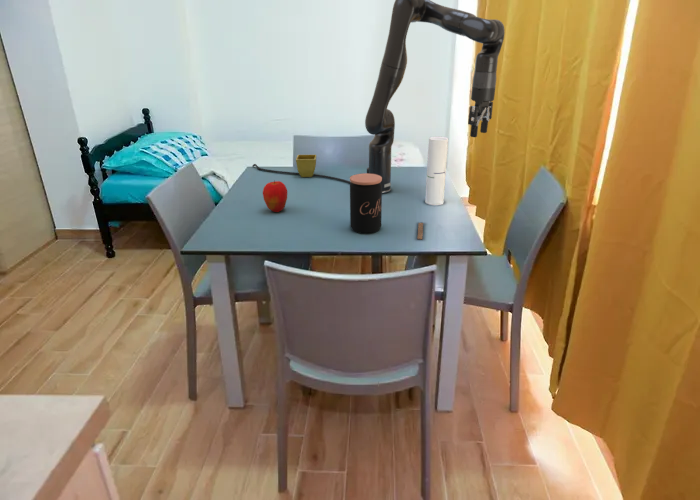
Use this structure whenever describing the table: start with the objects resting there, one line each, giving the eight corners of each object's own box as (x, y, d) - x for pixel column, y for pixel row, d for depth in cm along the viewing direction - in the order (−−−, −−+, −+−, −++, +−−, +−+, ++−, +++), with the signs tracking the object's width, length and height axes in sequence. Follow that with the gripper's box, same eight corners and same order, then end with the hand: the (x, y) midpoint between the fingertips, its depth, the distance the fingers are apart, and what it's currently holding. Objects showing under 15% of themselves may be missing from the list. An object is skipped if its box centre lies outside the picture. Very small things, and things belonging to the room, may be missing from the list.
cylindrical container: (443, 205, 188) (448, 140, 178) (424, 204, 190) (428, 140, 179) (443, 199, 195) (448, 136, 184) (425, 198, 196) (429, 136, 185)
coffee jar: (359, 236, 161) (359, 184, 154) (344, 226, 170) (344, 176, 163) (387, 230, 166) (388, 179, 158) (371, 220, 174) (371, 171, 167)
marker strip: (417, 239, 159) (417, 238, 159) (418, 223, 171) (418, 222, 171) (422, 239, 159) (422, 238, 159) (423, 223, 171) (423, 222, 171)
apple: (279, 204, 191) (276, 175, 186) (293, 210, 185) (291, 179, 180) (259, 210, 185) (256, 180, 180) (273, 216, 180) (271, 185, 174)
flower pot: (315, 178, 224) (315, 159, 220) (296, 178, 224) (295, 159, 220) (317, 173, 232) (316, 154, 228) (298, 173, 232) (297, 154, 228)
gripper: (481, 83, 170) (476, 130, 176) (464, 87, 159) (459, 137, 166) (502, 84, 165) (496, 132, 172) (486, 88, 155) (480, 139, 162)
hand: (478, 134), depth 169 cm, fingers open, 8 cm apart
